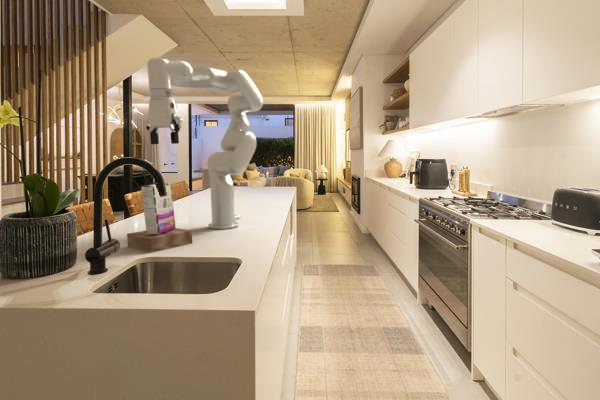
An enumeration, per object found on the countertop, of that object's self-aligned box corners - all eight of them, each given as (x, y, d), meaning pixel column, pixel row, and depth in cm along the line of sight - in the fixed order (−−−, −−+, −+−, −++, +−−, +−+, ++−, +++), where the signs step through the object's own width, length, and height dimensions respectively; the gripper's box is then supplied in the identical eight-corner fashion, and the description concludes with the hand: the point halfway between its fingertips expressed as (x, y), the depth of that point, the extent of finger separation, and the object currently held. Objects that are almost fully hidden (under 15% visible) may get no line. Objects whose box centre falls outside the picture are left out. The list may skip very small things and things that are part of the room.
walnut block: (168, 240, 153) (167, 226, 152) (192, 244, 144) (191, 230, 144) (127, 248, 140) (126, 233, 139) (151, 254, 131) (150, 238, 131)
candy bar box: (163, 229, 147) (158, 183, 146) (176, 228, 146) (171, 182, 144) (145, 235, 136) (140, 185, 135) (158, 234, 135) (153, 185, 134)
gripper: (187, 94, 145) (190, 143, 148) (151, 97, 153) (154, 144, 156) (172, 92, 139) (175, 143, 141) (135, 96, 146) (139, 144, 149)
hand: (164, 143), depth 148 cm, fingers open, 9 cm apart
